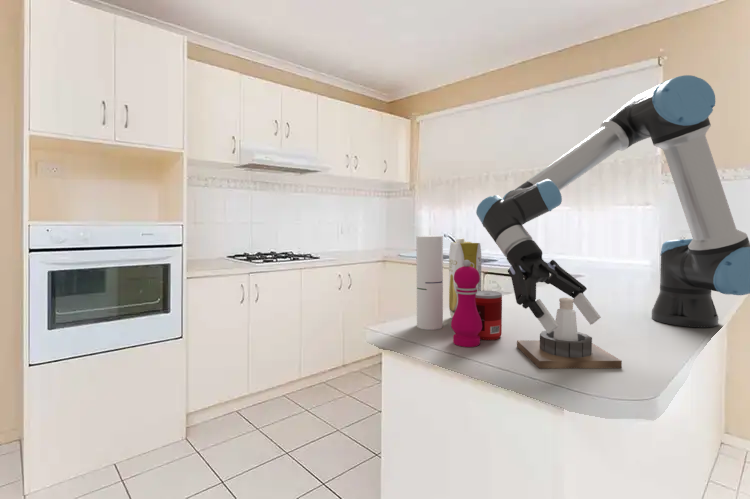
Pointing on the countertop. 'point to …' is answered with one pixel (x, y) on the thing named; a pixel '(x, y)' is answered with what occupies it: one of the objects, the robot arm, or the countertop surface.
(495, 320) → the canned food
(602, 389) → the countertop surface
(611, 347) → the countertop surface
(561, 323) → the pepper shaker
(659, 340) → the countertop surface
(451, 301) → the juice carton
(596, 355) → the collar plate
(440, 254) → the cylindrical container
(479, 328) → the pepper mill
